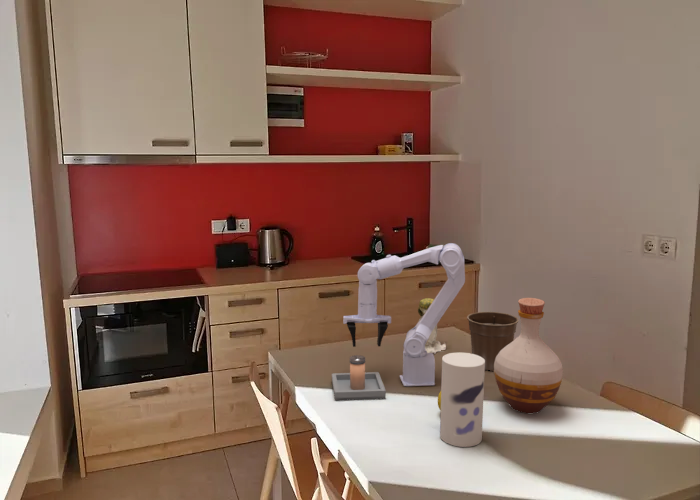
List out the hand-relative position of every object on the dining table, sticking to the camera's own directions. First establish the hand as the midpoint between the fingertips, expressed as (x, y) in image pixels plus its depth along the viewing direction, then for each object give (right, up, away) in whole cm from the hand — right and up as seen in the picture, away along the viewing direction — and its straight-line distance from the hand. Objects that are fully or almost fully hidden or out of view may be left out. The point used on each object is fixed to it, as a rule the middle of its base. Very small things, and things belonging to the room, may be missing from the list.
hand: (366, 345), depth 174 cm
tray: (-3, -12, -8) cm, 14 cm away
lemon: (+21, -15, -24) cm, 35 cm away
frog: (+23, -6, +29) cm, 38 cm away
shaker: (-3, -11, -8) cm, 14 cm away
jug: (+43, -14, -18) cm, 49 cm away
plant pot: (+41, -9, +13) cm, 44 cm away
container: (+22, -16, -36) cm, 45 cm away
